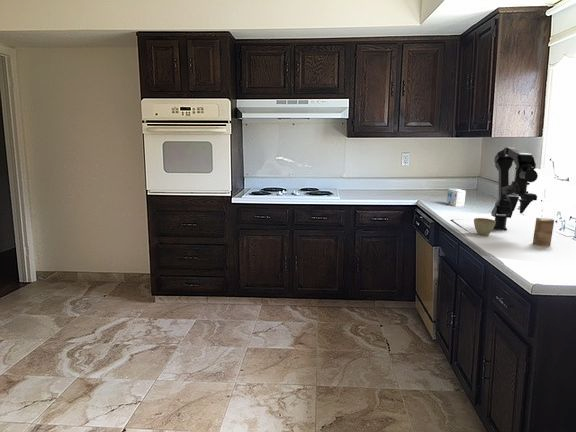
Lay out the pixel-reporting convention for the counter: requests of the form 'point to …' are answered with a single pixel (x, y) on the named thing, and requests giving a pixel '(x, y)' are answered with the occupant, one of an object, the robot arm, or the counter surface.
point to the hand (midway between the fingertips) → (516, 212)
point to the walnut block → (543, 231)
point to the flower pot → (484, 225)
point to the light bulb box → (456, 197)
